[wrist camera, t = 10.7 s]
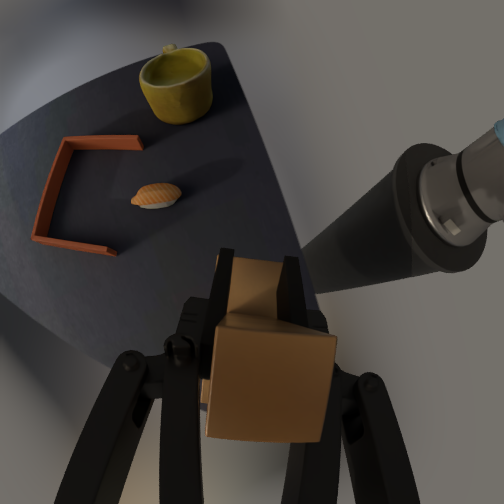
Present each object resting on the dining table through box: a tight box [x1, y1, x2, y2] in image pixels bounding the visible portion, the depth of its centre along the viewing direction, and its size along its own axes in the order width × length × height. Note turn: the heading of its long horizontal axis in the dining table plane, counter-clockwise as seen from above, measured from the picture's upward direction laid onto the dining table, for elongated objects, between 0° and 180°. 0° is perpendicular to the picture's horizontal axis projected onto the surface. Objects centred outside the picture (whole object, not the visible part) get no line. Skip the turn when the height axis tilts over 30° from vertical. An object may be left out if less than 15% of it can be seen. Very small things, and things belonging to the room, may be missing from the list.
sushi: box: [131, 183, 181, 209], centre depth 32 cm, size 3×6×3 cm, turn 98°
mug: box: [139, 44, 213, 125], centre depth 33 cm, size 12×10×10 cm
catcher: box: [31, 135, 144, 256], centre depth 31 cm, size 13×15×3 cm
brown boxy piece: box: [201, 255, 337, 443], centre depth 13 cm, size 10×5×16 cm, turn 173°
